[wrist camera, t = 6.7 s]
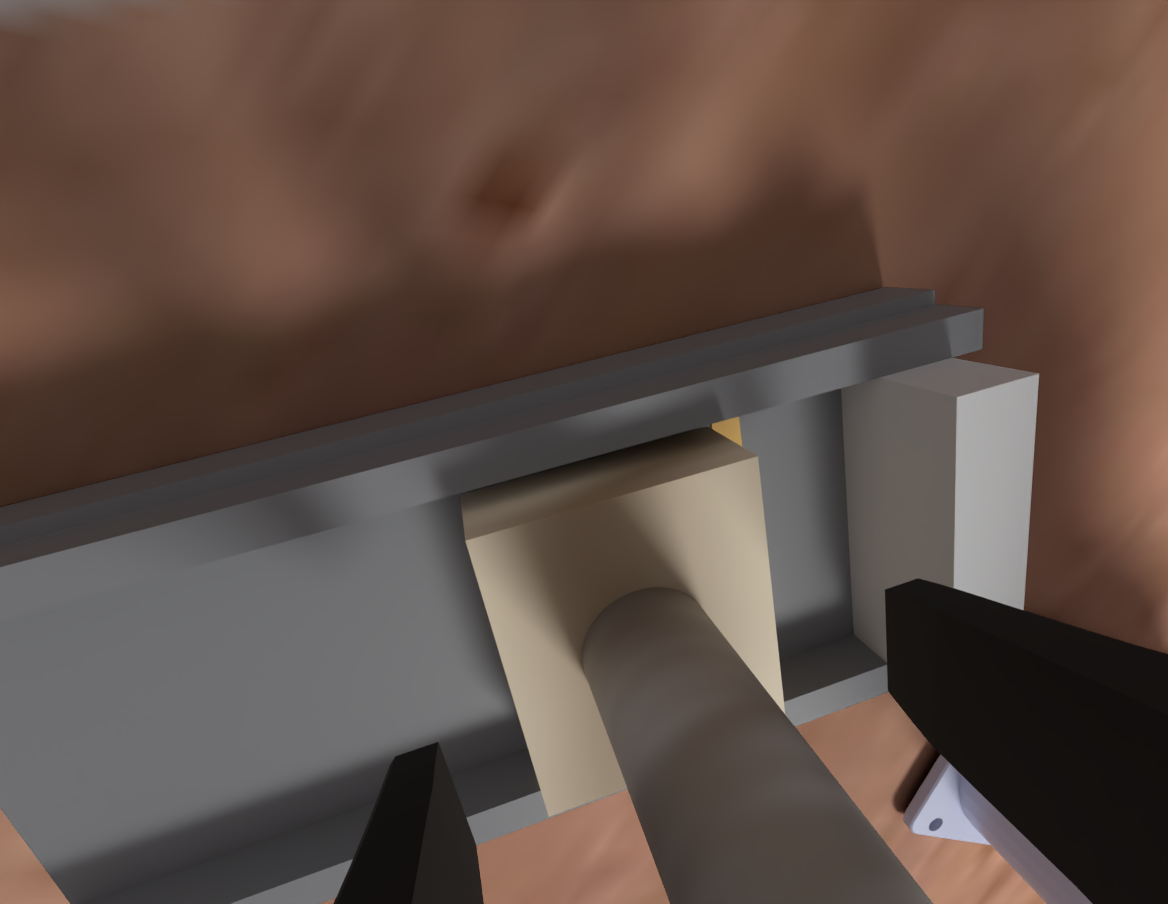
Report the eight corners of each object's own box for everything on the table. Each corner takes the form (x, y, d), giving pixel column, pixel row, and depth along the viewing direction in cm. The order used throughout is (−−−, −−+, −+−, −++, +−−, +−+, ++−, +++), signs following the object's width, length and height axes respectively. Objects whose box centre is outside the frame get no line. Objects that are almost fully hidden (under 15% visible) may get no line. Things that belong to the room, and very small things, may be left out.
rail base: (884, 287, 14) (1079, 297, 10) (892, 609, 17) (1043, 723, 13) (-95, 530, 11) (-435, 702, 6) (133, 874, 14) (2, 1140, 10)
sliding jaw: (707, 425, 12) (1160, 695, 4) (739, 666, 14) (1088, 1125, 7) (460, 494, 11) (514, 957, 4) (532, 739, 13) (661, 1352, 6)
